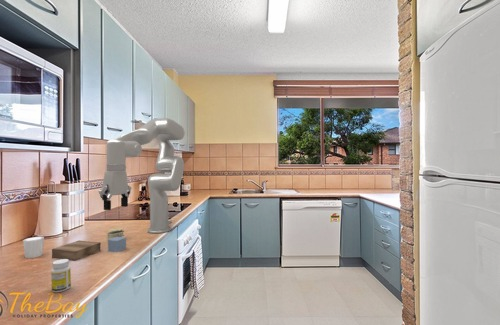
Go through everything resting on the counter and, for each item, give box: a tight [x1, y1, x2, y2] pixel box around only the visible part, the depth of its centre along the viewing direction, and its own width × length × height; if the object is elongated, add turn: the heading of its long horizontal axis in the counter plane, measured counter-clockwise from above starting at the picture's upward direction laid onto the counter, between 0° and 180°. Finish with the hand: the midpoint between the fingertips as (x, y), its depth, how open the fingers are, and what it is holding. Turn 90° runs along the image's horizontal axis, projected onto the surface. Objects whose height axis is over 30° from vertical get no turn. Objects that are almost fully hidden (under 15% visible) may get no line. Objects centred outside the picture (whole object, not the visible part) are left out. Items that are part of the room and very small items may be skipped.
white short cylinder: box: [22, 236, 45, 259], centre depth 111 cm, size 7×7×7 cm
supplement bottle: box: [50, 259, 72, 293], centre depth 81 cm, size 5×5×8 cm
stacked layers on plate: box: [106, 227, 125, 243], centre depth 132 cm, size 10×9×6 cm
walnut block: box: [51, 240, 102, 262], centre depth 112 cm, size 12×12×4 cm
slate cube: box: [107, 236, 127, 253], centre depth 117 cm, size 5×5×5 cm
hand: (116, 208), depth 117 cm, fingers open, 9 cm apart
